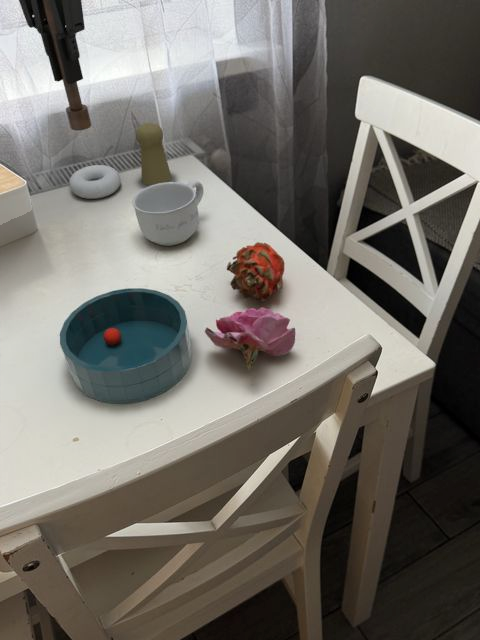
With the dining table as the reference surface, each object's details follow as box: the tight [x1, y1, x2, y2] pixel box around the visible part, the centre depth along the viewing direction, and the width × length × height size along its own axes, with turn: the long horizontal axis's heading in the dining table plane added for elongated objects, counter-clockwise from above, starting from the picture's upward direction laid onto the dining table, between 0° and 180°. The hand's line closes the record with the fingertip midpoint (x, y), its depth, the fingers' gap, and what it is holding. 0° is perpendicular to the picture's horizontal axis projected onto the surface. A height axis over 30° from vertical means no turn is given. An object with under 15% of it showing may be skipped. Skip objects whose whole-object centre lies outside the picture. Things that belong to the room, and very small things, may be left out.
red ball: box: [104, 328, 121, 345], centre depth 84 cm, size 2×2×2 cm
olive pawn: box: [135, 122, 173, 187], centre depth 117 cm, size 6×6×11 cm
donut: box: [68, 164, 122, 200], centre depth 117 cm, size 10×4×10 cm
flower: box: [204, 306, 296, 386], centre depth 80 cm, size 11×10×10 cm
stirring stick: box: [42, 0, 92, 131], centre depth 91 cm, size 3×3×19 cm
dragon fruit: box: [226, 241, 285, 302], centre depth 91 cm, size 8×8×12 cm
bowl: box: [59, 287, 193, 405], centre depth 81 cm, size 17×17×6 cm
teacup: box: [131, 179, 204, 247], centre depth 103 cm, size 14×11×8 cm
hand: (68, 79), depth 93 cm, fingers closed on stirring stick, 2 cm apart
